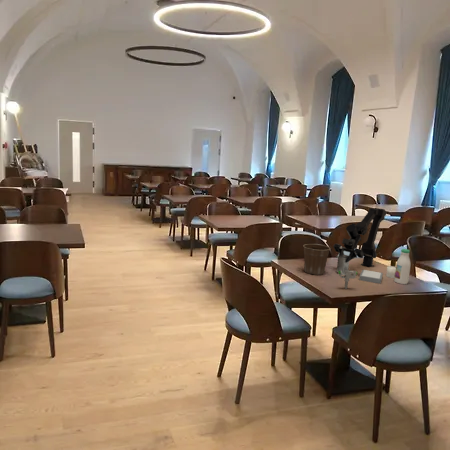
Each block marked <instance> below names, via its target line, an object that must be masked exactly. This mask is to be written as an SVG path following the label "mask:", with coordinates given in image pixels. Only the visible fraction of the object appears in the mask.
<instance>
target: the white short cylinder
mask: <svg viewBox="0 0 450 450" xmlns="http://www.w3.org/2000/svg"><path fill="white" fill-rule="evenodd" d="M395 271H396V266H394V265H393V266H392V265H387V267H386V274H385V277H387V278H389V279H394V278H395Z"/></svg>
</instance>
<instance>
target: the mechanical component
mask: <svg viewBox="0 0 450 450" xmlns="http://www.w3.org/2000/svg"><path fill="white" fill-rule="evenodd" d="M337 274H338V275H339V276H338V277H340V278H341V279H344V289H345V290H348V288H349V287H348V286H349V282H350V280H351V279H353V280H354V279H356V277H357V275H358V271H356V270H349V269H348V270H345V272H344V273H342V271H338V273H337Z"/></svg>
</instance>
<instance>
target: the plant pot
mask: <svg viewBox="0 0 450 450" xmlns="http://www.w3.org/2000/svg"><path fill="white" fill-rule="evenodd" d="M302 247H303V254H304V257H303V258H304V262H303V266H304V267H303V268H304V269H303V271H304V272H305V273H306V274H308V275H311V274H312V275H315V276H321V275H324V274H325V271H326V267H327V260H328V257H329V254H330V250H331V247H329V246H328V245H324V244H320V245H318V243H307V244H303V245H302Z"/></svg>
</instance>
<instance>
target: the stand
mask: <svg viewBox="0 0 450 450" xmlns="http://www.w3.org/2000/svg"><path fill="white" fill-rule="evenodd" d="M383 274H384V273H383V272H378V271H374V270H373V271H372V270H367V269H362V270H361V271H360V274H359V279H358V280H359V281H363V282H368V283H373V284H374V283H375V284H380V285H381V283H382V279H383Z"/></svg>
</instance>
